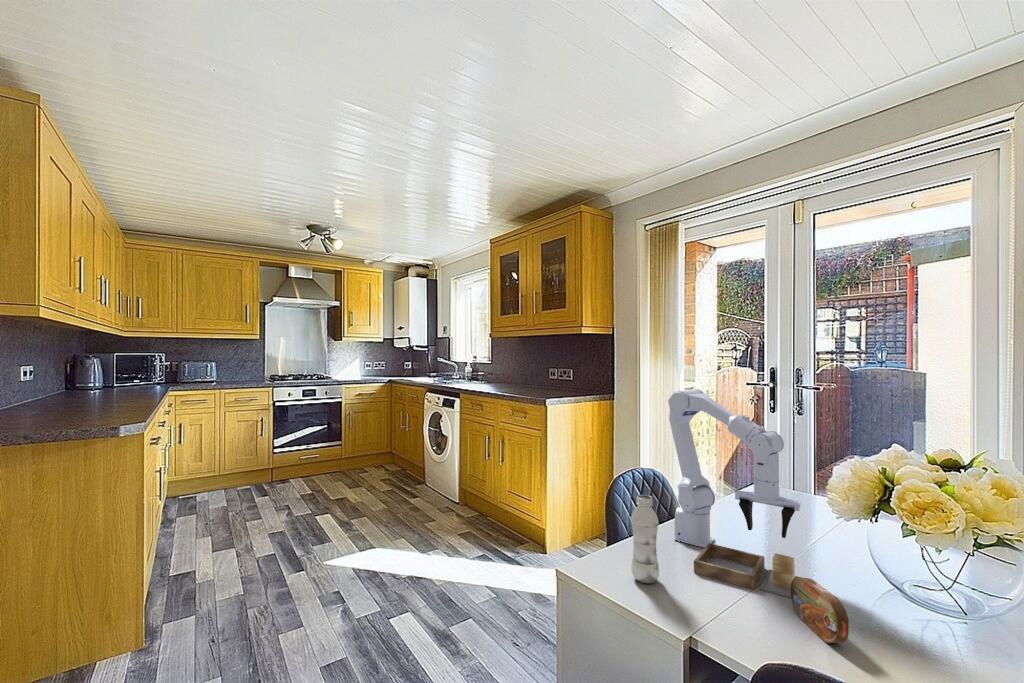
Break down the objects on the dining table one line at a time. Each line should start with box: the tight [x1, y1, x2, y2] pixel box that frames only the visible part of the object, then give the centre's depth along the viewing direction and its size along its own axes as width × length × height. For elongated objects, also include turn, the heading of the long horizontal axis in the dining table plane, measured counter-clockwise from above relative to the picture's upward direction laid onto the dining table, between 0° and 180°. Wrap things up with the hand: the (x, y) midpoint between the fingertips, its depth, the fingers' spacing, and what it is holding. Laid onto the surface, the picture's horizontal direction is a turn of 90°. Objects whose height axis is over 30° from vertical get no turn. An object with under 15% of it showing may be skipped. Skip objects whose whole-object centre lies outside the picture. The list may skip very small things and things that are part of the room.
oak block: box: [772, 552, 795, 589], centre depth 110 cm, size 4×4×6 cm
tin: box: [790, 576, 850, 644], centre depth 92 cm, size 15×3×8 cm, turn 178°
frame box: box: [693, 543, 766, 591], centre depth 117 cm, size 14×14×3 cm
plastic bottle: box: [630, 494, 660, 584], centre depth 112 cm, size 6×7×20 cm
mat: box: [760, 569, 803, 599], centre depth 110 cm, size 8×12×1 cm, turn 142°
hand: (766, 532), depth 118 cm, fingers open, 7 cm apart
